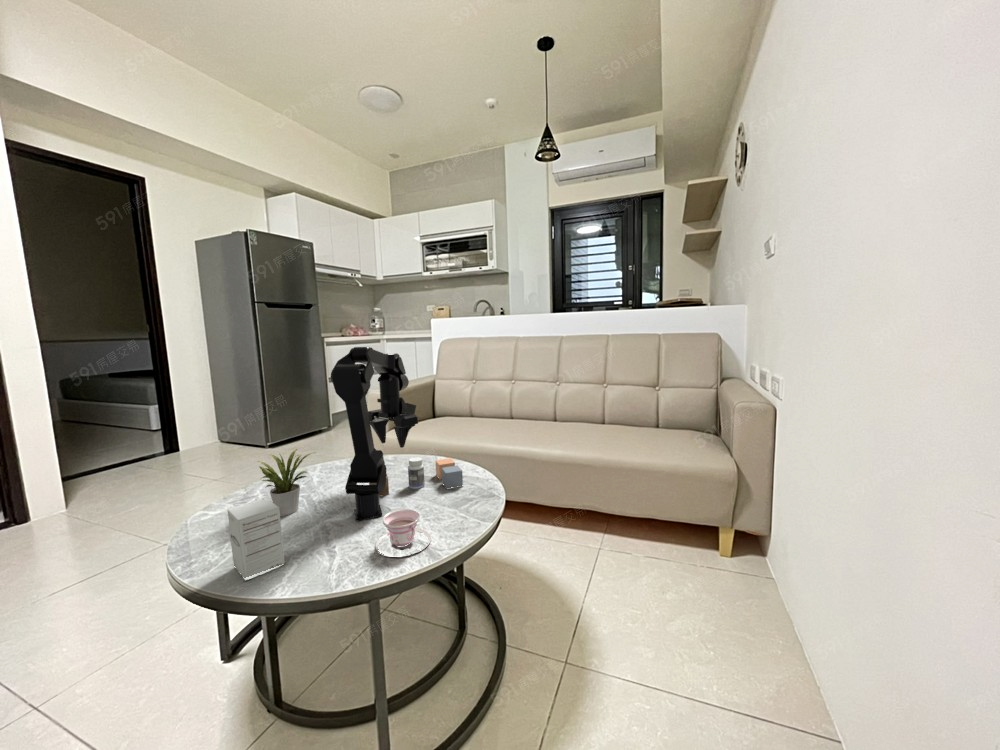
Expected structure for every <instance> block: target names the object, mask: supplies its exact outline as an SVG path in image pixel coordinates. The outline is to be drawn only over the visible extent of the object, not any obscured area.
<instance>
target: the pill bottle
mask: <svg viewBox="0 0 1000 750" xmlns="http://www.w3.org/2000/svg"><path fill="white" fill-rule="evenodd" d="M407 476H408V487H409V489H414V490H415V489H417V490H418V489H421V488H423V487H425V484H426V483H425V480H426V479H425V466H424V464H423V457H420V456H417V457H409V459H408V466H407Z"/></svg>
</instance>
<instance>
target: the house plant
mask: <svg viewBox="0 0 1000 750" xmlns="http://www.w3.org/2000/svg"><path fill="white" fill-rule="evenodd" d="M297 451H298V448H297V449H294V450H293V451H291V453H290V455H289V457H288V459H287V461H286V462H287V463H286V465H285V462H284V461H285V460H284V458H283V456H282V455H281V454H279V455H280V458H281V459H280V458H279V457H278V456H275V455H274V454H270V453H269V456H271V457H272V458H273V459H274V461H275V462H276V464H277V468H278V469H279V472H280V475H281V476H279V474H278V473H277V472H276V470H275V469H274V468H273V467H272V466H270V465H269V464H267V463H266V462H263V461H259V460H256V462H257V463H260V464H262V465H264V466H258V468H259V469H260V470H261V471H262V474H263V475H264V476H262V477H261V478H260V480H261V482H269V483H273V485H272V484H268V485H266V486H265V488H269V487H272V488H271V489H270V490H269V495H270V497H271V502H273V503H274V504H275V505H277V506H278V507H279V511H280V517H281V516H289V515H292V514H294V513H296V512H297V511H298V510H299V504H300V493H301V492H300V490H301V485H300V484H298V483H295V482H296V481H298V480H300V479H304V478H307V476H306V475H303V474H309V472H308V471H306V470H303V471H300V472H299V473H298V474H297V475H296V476H295V477H294V475H295V472H296V470H297V469H298V468H299V466H300V465H301V464H302V462H303V461H304V459H306V458H307V457H308V456H310V455H312V454H316V453H317V451H316V452H311V453H307V454H306V455H304V456H303V457H301V456H302V454H296V452H297ZM295 457H296V459H295V460H294V458H295ZM293 460H294V463H293V467H292V469H291V466H292V462H293ZM262 478H264V479H262ZM265 478H266V479H265ZM265 488H264V489H265Z"/></svg>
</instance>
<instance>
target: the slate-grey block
mask: <svg viewBox="0 0 1000 750" xmlns="http://www.w3.org/2000/svg"><path fill="white" fill-rule="evenodd" d="M463 479H464V477H463V470H462V468H461V467H460V466H458V464H457V465H455V466H451V467H444V468H442V480H441V481H442V483H443V484H444V485H443V484H442V485H443V487H444V488H445V487H446V488H445V489H446V490H448V489H447V488H451V487H457V486H462V485H463V486H464V481H463ZM463 486H462V487H463ZM457 488H458V487H457ZM451 489H452V488H451Z"/></svg>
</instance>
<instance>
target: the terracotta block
mask: <svg viewBox="0 0 1000 750" xmlns="http://www.w3.org/2000/svg"><path fill="white" fill-rule="evenodd" d="M455 464H456V463H455V461H454V460H453V459H452V458H451V457H449V458H448V457H447V458H442V459H436V460H435V475H436V477H437V476H438V477H439V478H438V477H437V478H438V479H439V481H442V480H441V479H442V468H444V467H451V466H456V465H455Z"/></svg>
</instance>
